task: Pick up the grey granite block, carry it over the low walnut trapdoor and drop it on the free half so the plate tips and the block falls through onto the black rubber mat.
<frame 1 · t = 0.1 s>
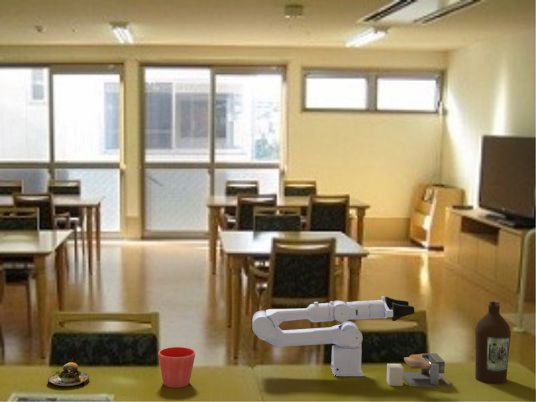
hand: (411, 307, 222), 22 cm above the table, tool horizontal, fingers open, 7 cm apart
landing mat: (419, 380, 217), on the table
flower pot: (176, 384, 209), on the table
pastry: (421, 365, 234), on the table
olive oil: (490, 380, 219), on the table
frame: (429, 380, 217), on the table
burger: (68, 384, 208), on the table
trapdoor: (423, 362, 217), point 5 cm above the table, hinge at 0.0°
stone: (394, 374, 214), point 3 cm above the table
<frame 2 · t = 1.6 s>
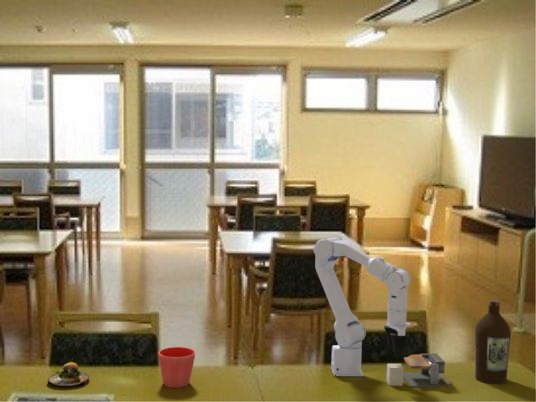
hand: (395, 353, 213), 9 cm above the table, tool pointing down, fingers open, 7 cm apart
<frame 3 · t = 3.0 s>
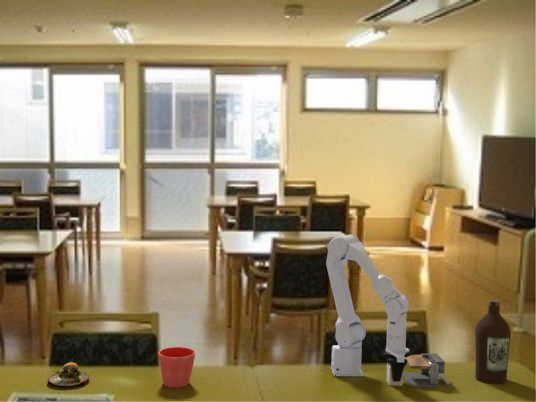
hand: (394, 378, 214), 1 cm above the table, tool pointing down, fingers closed on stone, 4 cm apart
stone: (394, 374, 214), point 3 cm above the table, touching gripper
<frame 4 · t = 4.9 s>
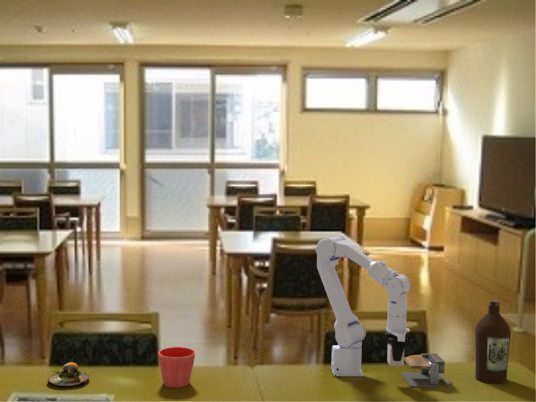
hand: (395, 358, 213), 8 cm above the table, tool pointing down, fingers closed on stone, 4 cm apart
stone: (395, 354, 213), point 9 cm above the table, touching gripper
when the fingers open (9 cm above the table, at t = 6.6 s): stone drops 2 cm, resting on trapdoor.
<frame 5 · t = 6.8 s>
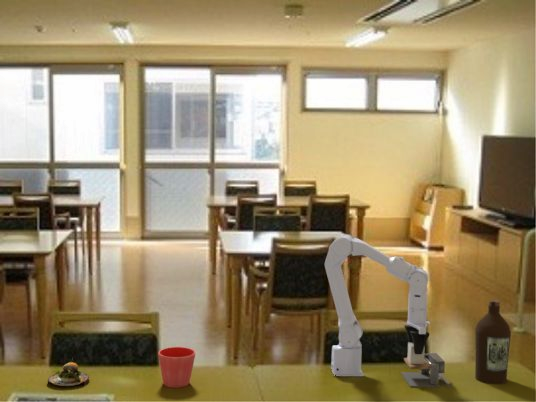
hand: (415, 351, 216), 9 cm above the table, tool pointing down, fingers open, 6 cm apart
trapdoor: (423, 363, 217), point 5 cm above the table, hinge at -1.6°, touching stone
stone: (415, 353, 216), point 9 cm above the table, touching trapdoor
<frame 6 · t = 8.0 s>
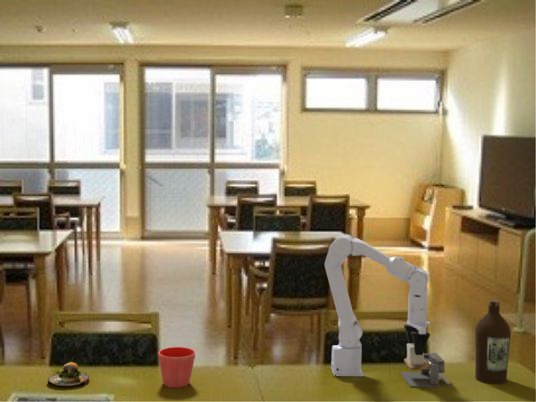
hand: (415, 351, 216), 9 cm above the table, tool pointing down, fingers open, 7 cm apart
trapdoor: (423, 363, 217), point 5 cm above the table, hinge at -3.7°, touching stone
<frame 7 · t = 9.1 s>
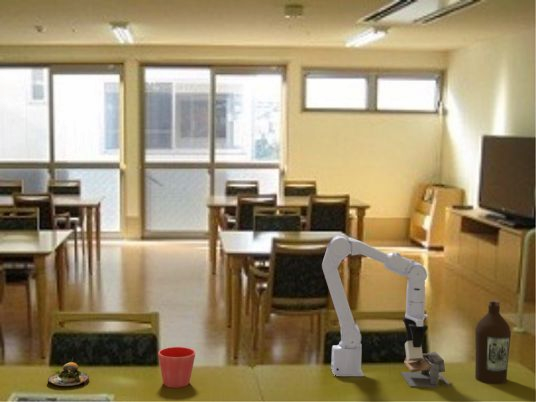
hand: (414, 343, 220), 10 cm above the table, tool pointing down, fingers open, 7 cm apart
trapdoor: (423, 363, 217), point 5 cm above the table, hinge at -9.7°, touching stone
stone: (413, 350, 218), point 9 cm above the table, tilted 29°, touching gripper, trapdoor
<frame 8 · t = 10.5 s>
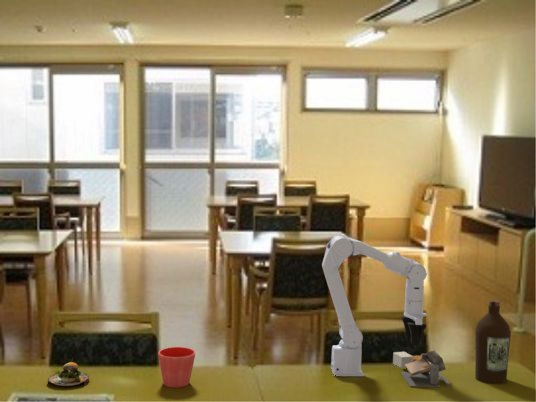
hand: (412, 341, 223), 10 cm above the table, tool pointing down, fingers open, 7 cm apart
trapdoor: (424, 364, 217), point 5 cm above the table, hinge at -19.6°
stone: (402, 360, 231), point 2 cm above the table, tilted 90°
at the end: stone point 1.9 cm above the table; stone moved 18.2 cm from its start; the gripper is holding nothing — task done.
